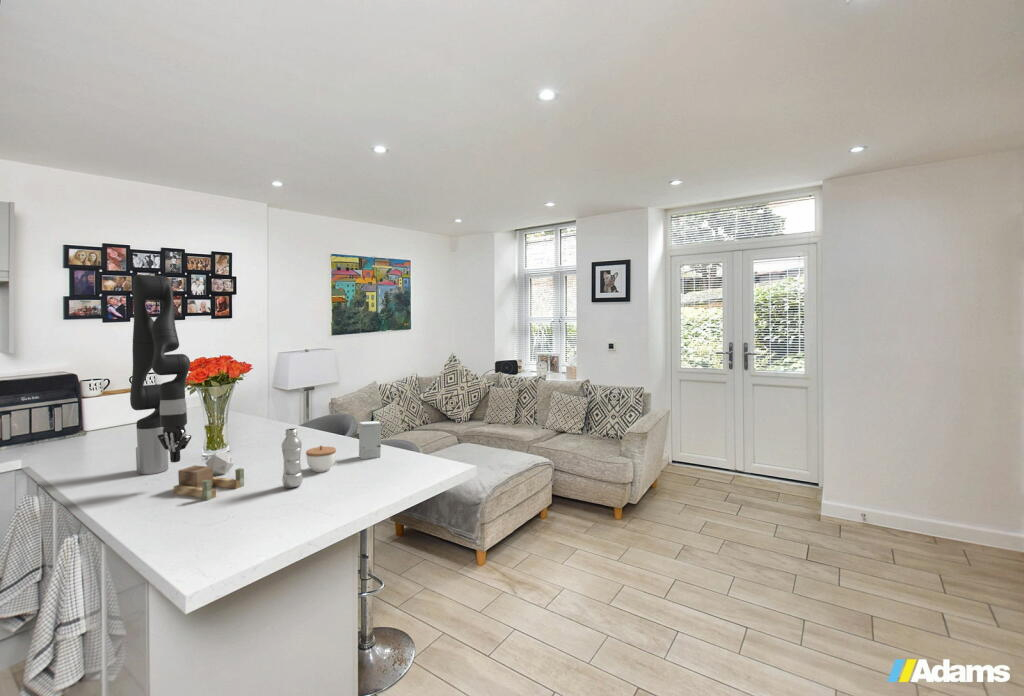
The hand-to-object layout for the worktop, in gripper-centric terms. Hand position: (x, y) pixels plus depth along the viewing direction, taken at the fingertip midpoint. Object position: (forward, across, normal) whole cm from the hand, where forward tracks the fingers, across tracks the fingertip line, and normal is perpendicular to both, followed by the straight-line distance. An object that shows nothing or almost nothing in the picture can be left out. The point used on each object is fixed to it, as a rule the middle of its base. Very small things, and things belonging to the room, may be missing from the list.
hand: (175, 461), depth 163 cm
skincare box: (+9, +44, +51) cm, 68 cm away
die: (+9, +2, +16) cm, 19 cm away
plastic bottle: (+10, +38, +11) cm, 41 cm away
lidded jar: (+9, +36, +30) cm, 48 cm away
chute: (+9, +14, 0) cm, 16 cm away
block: (+9, +8, 0) cm, 12 cm away
